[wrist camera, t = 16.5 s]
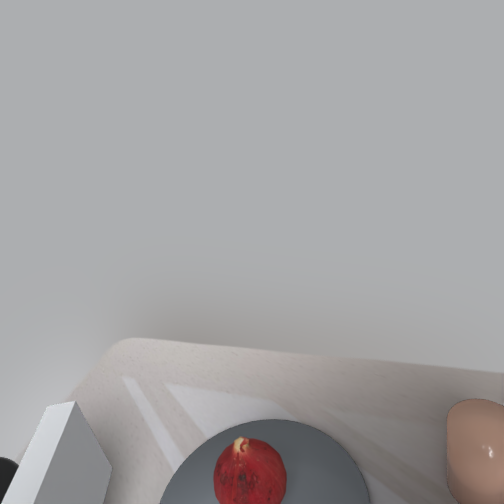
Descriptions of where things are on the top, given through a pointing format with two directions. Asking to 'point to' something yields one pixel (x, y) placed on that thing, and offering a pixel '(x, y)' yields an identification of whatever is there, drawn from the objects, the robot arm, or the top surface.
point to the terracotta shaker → (476, 452)
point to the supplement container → (6, 475)
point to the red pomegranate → (249, 473)
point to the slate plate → (294, 459)
